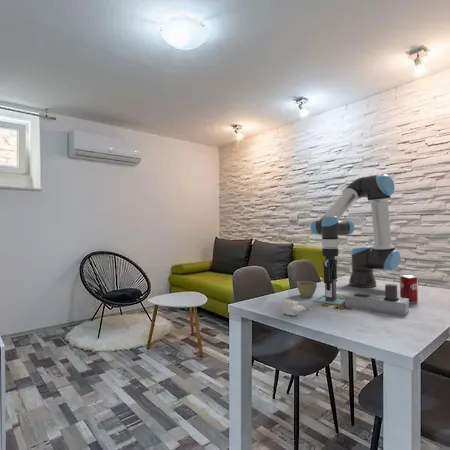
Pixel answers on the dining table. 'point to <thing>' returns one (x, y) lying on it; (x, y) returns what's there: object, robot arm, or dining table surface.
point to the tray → (338, 301)
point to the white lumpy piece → (292, 307)
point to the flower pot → (306, 288)
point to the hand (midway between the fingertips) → (330, 295)
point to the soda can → (409, 288)
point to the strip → (379, 301)
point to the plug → (332, 291)
